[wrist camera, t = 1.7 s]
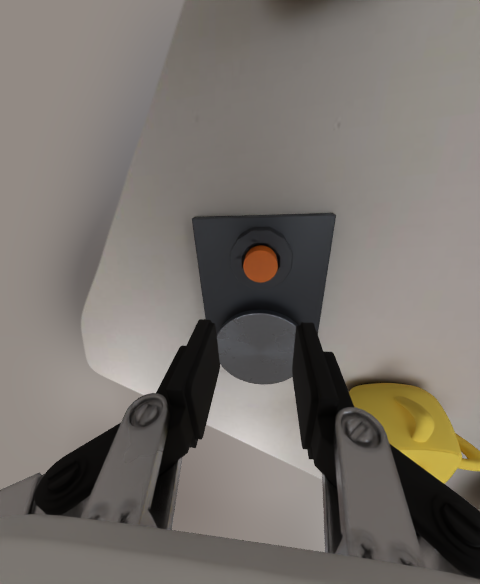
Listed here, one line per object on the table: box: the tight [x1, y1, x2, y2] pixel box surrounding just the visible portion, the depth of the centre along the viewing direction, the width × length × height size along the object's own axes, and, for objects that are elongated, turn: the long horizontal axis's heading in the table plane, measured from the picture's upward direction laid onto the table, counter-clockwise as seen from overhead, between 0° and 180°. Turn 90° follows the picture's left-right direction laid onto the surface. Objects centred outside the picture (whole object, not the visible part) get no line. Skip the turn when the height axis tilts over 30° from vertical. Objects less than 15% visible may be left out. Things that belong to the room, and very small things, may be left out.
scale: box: [192, 213, 336, 335], centre depth 25 cm, size 14×20×3 cm
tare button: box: [243, 245, 278, 282], centre depth 21 cm, size 3×3×2 cm
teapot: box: [349, 383, 480, 483], centre depth 28 cm, size 14×13×10 cm
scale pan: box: [217, 310, 297, 384], centre depth 26 cm, size 11×11×1 cm
